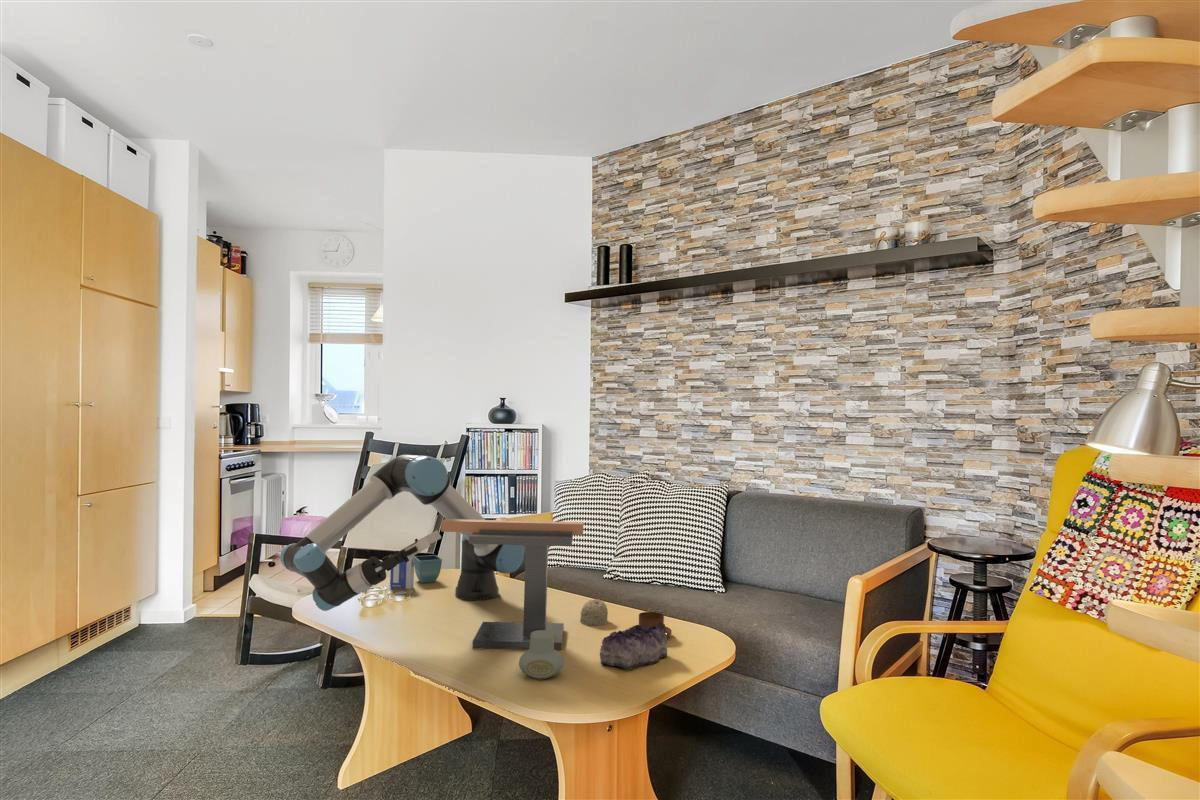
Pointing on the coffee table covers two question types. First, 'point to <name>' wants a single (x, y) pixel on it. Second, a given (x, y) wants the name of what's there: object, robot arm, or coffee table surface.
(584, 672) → the coffee table surface
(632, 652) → the geode
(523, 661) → the air freshener
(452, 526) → the block
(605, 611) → the beige rough dome
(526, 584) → the stand
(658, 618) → the cup and saucer
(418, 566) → the flower pot
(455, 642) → the coffee table surface
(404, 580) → the walkman
